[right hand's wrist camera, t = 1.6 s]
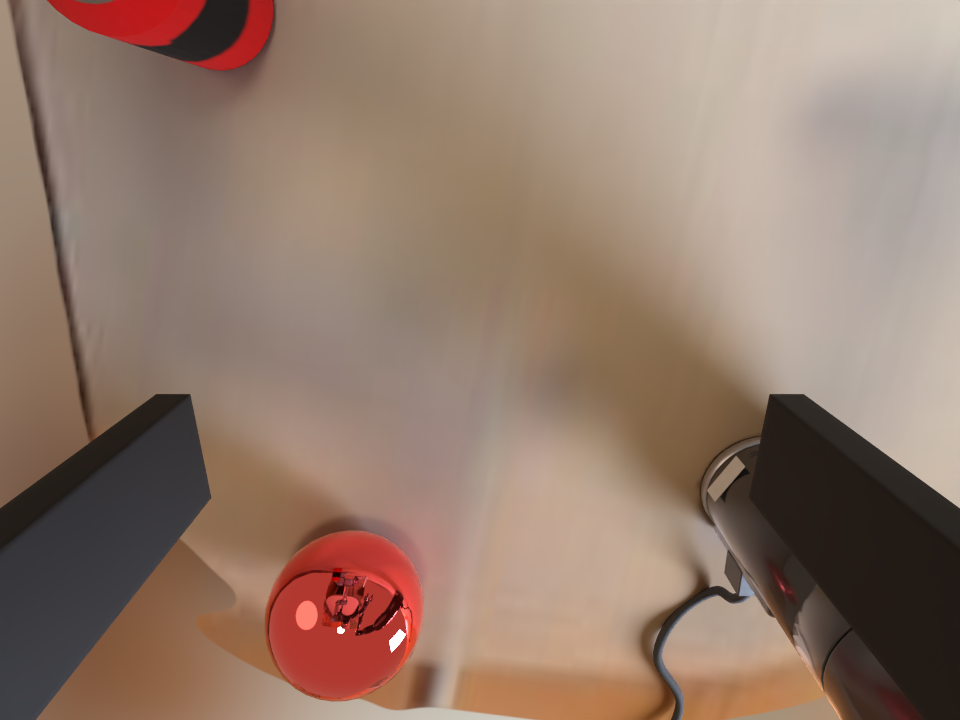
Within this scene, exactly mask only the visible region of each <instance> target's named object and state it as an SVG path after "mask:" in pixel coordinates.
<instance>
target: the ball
mask: <svg viewBox="0 0 960 720" xmlns="http://www.w3.org/2000/svg"><path fill="white" fill-rule="evenodd" d="M423 621H424V594H423V589H422V585H421V582H420V579H419V576H418V573H417V571H416V569H415V567H414V565H413V564H412V563H411V561H410V560H409V558H408V557H407V555H406V554H405V553H404V552H403V551H402V550H401V549H400V548H399V547H397V546H396V545H395V544H394V543H393V542H391V541H389V540H388V539H386V538H384V537H382V536H380V535H377V534H374V533H370V532H367V531H358V530H347V531H339V532H333V533H330V534H328V535H325V536H322V537H320V538H317V539H315V540H313V541H312V542H310V543H309V544H308V545H306V546H305V547H303V548H302V549H300V550H299V551H298V552H297V553H295V554H294V555H293V557H292V558H291V559H290V560H289V561H288V563H287V564H286V565H285V566H284V568H283V569H282V570H281V572H280V573H279V574H278V576H277V578H276V580H275V582H274V585H273V587H272V590H271V593H270V595H269V598H268V601H267V605H266V610H265V639H266V643H267V646H268V650H269V653H270V656H271V659H272V661H273V663H274V665H275V666H276V668H277V669H278V671H279V672H280V674H281V675H282V677H283V678H284V679H285V680H286V681H287V682H289V683H290V684H291V685H292V686H293V687H294V688H295V689H297V690H299V691H300V692H302V693H304V694H306V695H308V696H311V697H314V698H317V699H320V700H327V701H348V700H352V699H357V698H361V697H363V696H366V695H368V694H370V693H372V692H375V691H376V690H378V689H380V688H381V687H382V686H384V685H385V684H386V683H387V682H389V681H390V680H391V679H393V678H394V677H395V676H396V675H397V674H398V673H399V672H400V670H401V669H402V668H403V666H404V665H405V664H406V662H407V661H408V659H409V658H410V657H411V655H412V653H413V652H414V649H415V647H416V645H417V642H418V639H419V636H420V633H421V630H422V626H423Z"/></svg>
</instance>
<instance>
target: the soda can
mask: <svg viewBox="0 0 960 720" xmlns="http://www.w3.org/2000/svg"><path fill="white" fill-rule="evenodd" d="M47 1H48V2H49V3H50V4H51V5H52V6H53V7H54V8H55V9H56V10H57V11H59V12H60V13H61V14H63V15H64V16H65V17H67V18H68V19H69V20H71V21H72V22H74V23H76V24H77V25H79V26H81V27H83V28H85V29H87V30H89V31H92V32H95V33H98V34H101V35H105V36H108V37H111V38H114V39H117V40H120V41H123V42H126V43H129V44H132V45H135V46H138V47H141V48H145V49H148V50H151V51H154V52H157V53H160V54H163V55H166V56H169V57H172V58H175V59H178V60H181V61H185V62H188V63H191V64H194V65H197V66H200V67H203V68H207V69H210V70H229V69H235V68H237V67H240V66H242V65H245V64H246V63H247V62H249V61H250V60H252V59H253V58H254V57H255V56H256V55H257V54H258V53H259V52H260V51H261V49H262V48H263V46H264V44H265V42H266V41H267V39H268V36H269V33H270V30H271V27H272V19H273V0H47Z"/></svg>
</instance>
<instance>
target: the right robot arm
mask: <svg viewBox="0 0 960 720" xmlns="http://www.w3.org/2000/svg"><path fill="white" fill-rule="evenodd" d="M210 499H211V494H210V489H209V484H208V479H207V474H206V470H205V465H204V460H203V455H202V450H201V445H200V440H199V435H198V430H197V425H196V420H195V415H194V410H193V406H192V401H191V396H190V394H156V395H155V396H153V397H152V398H151V399H149V400H148V401H146V402H145V403H144V404H142V405H141V406H140V407H138V408H137V409H136V410H134V411H133V412H131V413H130V414H129V415H127V416H126V417H125V418H123V419H122V420H121V421H119V422H118V423H116V424H115V425H114V426H112V427H111V428H110V429H108V430H107V431H105V432H104V433H103V434H101V435H100V436H99V437H97V438H96V439H95V440H93V441H92V442H90V443H89V444H88V445H86V446H85V447H84V448H82V449H81V450H80V451H78V452H77V453H75V454H74V455H73V456H71V457H70V458H69V459H67V460H66V461H64V462H63V463H62V464H60V465H59V466H58V467H56V468H55V469H54V470H52V471H51V472H49V473H48V474H47V475H45V476H44V477H43V478H41V479H40V480H39V481H37V482H36V483H34V484H33V485H32V486H30V487H29V488H28V489H26V490H25V491H23V492H22V493H21V494H19V495H18V496H17V497H15V498H14V499H13V500H11V501H10V502H8V503H7V504H6V505H4V506H3V507H2V508H0V720H36V719H37V717H38V716H39V715H40V714H41V712H42V711H43V710H44V709H45V707H46V706H47V705H48V703H49V702H50V701H51V700H52V698H53V697H54V696H55V695H56V693H57V692H58V691H59V690H60V688H61V687H62V686H63V684H64V683H65V682H66V681H67V679H68V678H69V677H70V676H71V674H72V673H73V672H74V671H75V669H76V668H77V667H78V666H79V664H80V663H81V662H82V660H83V659H84V658H85V657H86V655H87V654H88V653H89V652H90V650H91V649H92V648H93V647H94V645H95V644H96V643H97V641H98V640H99V639H100V638H101V636H102V635H103V634H104V633H105V631H106V630H107V629H108V628H109V626H110V625H111V624H112V622H113V621H114V620H115V619H116V617H117V616H118V615H119V614H120V612H121V611H122V610H123V609H124V607H125V606H126V605H127V604H128V602H129V601H130V600H131V598H132V597H133V596H134V595H135V593H136V592H137V591H138V590H139V588H140V587H141V586H142V585H143V583H144V582H145V581H146V579H147V578H148V577H149V576H150V574H151V573H152V572H153V571H154V569H155V568H156V567H157V565H158V564H159V563H160V562H161V560H162V559H163V558H164V557H165V555H166V554H167V553H168V552H169V550H170V549H171V548H172V546H173V545H174V544H175V543H176V542H177V540H178V539H179V538H180V536H181V535H182V534H183V533H184V531H185V530H186V529H187V528H188V526H189V525H190V524H191V523H192V521H193V520H194V519H195V517H196V516H197V515H198V514H199V512H200V511H201V510H202V509H203V507H204V506H205V505H206V504H207V502H208V501H209V500H210ZM749 499H750V500H751V501H752V502H753V504H754V505H755V506H756V507H757V509H758V510H759V511H760V512H761V514H762V515H763V516H764V517H765V519H766V520H767V521H768V523H769V524H770V525H771V526H772V528H773V529H774V530H775V531H776V533H777V534H778V535H779V536H780V538H781V539H782V540H783V542H784V543H785V544H786V545H787V547H788V548H789V549H790V550H791V552H792V553H793V554H794V555H795V557H796V558H797V559H798V560H799V562H800V563H801V564H802V566H803V567H804V568H805V569H806V571H807V572H808V573H809V574H810V576H811V577H812V578H813V579H814V581H815V582H816V583H817V585H818V586H819V587H820V588H821V590H822V591H823V592H824V593H825V595H826V596H827V597H828V598H829V600H830V601H831V602H832V604H833V605H834V606H835V607H836V609H837V610H838V611H839V612H840V614H841V615H842V616H843V617H844V619H845V620H846V621H847V622H848V624H849V625H850V626H851V628H852V629H853V630H854V631H855V633H856V634H857V635H858V636H859V638H860V639H861V640H862V641H863V643H864V644H865V645H866V647H867V648H868V649H869V650H870V652H871V653H872V654H873V655H874V657H875V658H876V659H877V660H878V662H879V663H880V664H881V666H882V667H883V668H884V669H885V671H886V672H887V673H888V674H889V676H890V677H891V678H892V679H893V681H894V682H895V683H896V684H897V686H898V687H899V688H900V690H901V691H902V692H903V693H904V695H905V696H906V697H907V698H908V700H909V701H910V702H911V703H912V705H913V706H914V707H915V709H916V710H917V711H918V712H919V714H920V715H921V716H922V717H923V719H924V720H960V508H958V507H957V506H956V505H954V504H953V503H952V502H950V501H949V500H947V499H946V498H945V497H943V496H942V495H941V494H939V493H938V492H937V491H935V490H934V489H932V488H931V487H930V486H928V485H927V484H926V483H924V482H923V481H921V480H920V479H919V478H917V477H916V476H915V475H913V474H912V473H911V472H909V471H908V470H906V469H905V468H904V467H902V466H901V465H900V464H898V463H897V462H896V461H894V460H893V459H891V458H890V457H889V456H887V455H886V454H885V453H883V452H882V451H880V450H879V449H878V448H876V447H875V446H874V445H872V444H871V443H870V442H868V441H867V440H865V439H864V438H863V437H861V436H860V435H859V434H857V433H856V432H855V431H853V430H852V429H850V428H849V427H848V426H846V425H845V424H844V423H842V422H841V421H839V420H838V419H837V418H835V417H834V416H833V415H831V414H830V413H829V412H827V411H826V410H824V409H823V408H822V407H820V406H819V405H818V404H816V403H815V402H814V401H812V400H811V399H809V398H808V397H807V396H805V395H804V394H770V396H769V401H768V406H767V410H766V415H765V420H764V425H763V430H762V435H761V440H760V445H759V450H758V455H757V460H756V465H755V470H754V474H753V479H752V484H751V489H750V494H749Z"/></svg>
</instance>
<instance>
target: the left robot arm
mask: <svg viewBox="0 0 960 720" xmlns="http://www.w3.org/2000/svg"><path fill="white" fill-rule="evenodd" d="M760 440H761V437H754V438H750V439H747V440H744V441H741V442H739V443H737V444H735V445H733V446H731V447H730V448H728V449H726V450H725V451H724V452H722V453H721V454H720V455H719V456H718V457H717V458H716V459H715V460H714V461H713V463H712V464H711V465H710V467H709V468H708V470H707V472H706V474H705V476H704V478H703V482H702V486H701V499H702V504H703V507H704V509H705V511H706V512H707V514H708V516H709V517H710V519H711V520H712V522H713V523H714V524H715V532H716V533H717V535H718V537H719V538H720V540H721V541H722V543H723V545H724V546H725V548H726V549H727V558H726V565H725V575H726V576H727V578H728V580H729V581H730V583H731V585H732V586H733V588H734V590H735V592H736V593H735V594H732V593H730V592H729V591H727V590H726V589H725V588H723V587H720V586H714V587H710V588H708V589H705V590H703V591H701V592H700V593H698V594H697V595H695V596H694V597H693V598H691V599H690V600H689V601H687V602H686V603H685V604H683V605H682V606H681V607H679V608H678V609H677V610H676V611H675V612H674V613H673V614H672V615H671V616H670V617H669V618H668V619H667V621H666V622H665V624H664V625H663V627H662V629H661V630H660V632H659V634H658V637H657V639H656V642H655V645H654V650H653V657H654V663H655V666H656V668H657V670H658V672H659V673H660V675H661V676H662V677H663V679H664V680H665V681H666V683H667V684H668V685H669V687H670V688H671V690H672V692H673V694H674V696H675V700H676V704H675V710H674V713H673V716H672V719H671V720H681V718H682V714H683V710H684V699H683V695H682V692H681V690H680V688H679V686H678V685H677V683H676V682H675V680H674V679H673V678H672V676H671V675H670V674H669V672H668V671H667V669H666V668H665V665H664V663H663V660H662V651H663V647H664V644H665V642H666V640H667V638H668V636H669V634H670V632H671V631H672V629H673V628H674V626H675V625H676V624H677V622H678V621H679V620H680V619H681V618H682V617H683V616H684V615H685V614H686V613H687V612H688V611H689V610H690V609H692V608H693V607H694V606H696V605H697V604H699V603H701V602H702V601H704V600H706V599H709V598H711V597H714V596H717V595H718V596H721V597H722V598H724V599H725V600H726V601H728V602H730V603H741V602H744V601H746V600H747V599H748V598H749V597H750V596H756V597H757V599H758V600H759V602H760V603H761V605H762V607H763V608H764V610H765V611H766V613H767V614H768V615H770V616H771V617H773V618H776V619H777V621H778V622H779V624H780V626H781V627H782V629H783V630H784V632H785V633H786V635H787V636H788V638H789V640H790V641H791V643H792V644H793V646H794V647H795V649H796V650H797V652H798V654H799V655H800V656H801V658H802V659H803V661H804V662H805V664H806V666H807V667H808V669H809V670H810V672H811V673H812V675H813V676H814V678H815V680H816V681H817V683H818V684H819V686H820V687H821V689H822V690H823V692H824V694H825V695H826V697H827V698H828V700H829V702H830V703H831V705H832V707H833V708H834V710H835V711H836V713H837V715H838V716H839V718H840V720H924V719H923V717H922V716H921V715H920V714H919V712H918V711H917V710H916V709H915V707H914V706H913V705H912V703H911V702H910V701H909V700H908V698H907V697H906V696H905V695H904V693H903V692H902V691H901V690H900V688H899V687H898V686H897V684H896V683H895V682H894V681H893V679H892V678H891V677H890V676H889V674H888V673H887V672H886V671H885V669H884V668H883V667H882V666H881V664H880V663H879V662H878V660H877V659H876V658H875V657H874V655H873V654H872V653H871V652H870V650H869V649H868V648H867V647H866V645H865V644H864V643H863V641H862V640H861V639H860V638H859V636H858V635H857V634H856V633H855V631H854V630H853V629H852V628H851V626H850V625H849V624H848V622H847V621H846V620H845V619H844V617H843V616H842V615H841V614H840V612H839V611H838V610H837V609H836V607H835V606H834V605H833V604H832V602H831V601H830V600H829V598H828V597H827V596H826V595H825V593H824V592H823V591H822V590H821V588H820V587H819V586H818V585H817V583H816V582H815V581H814V579H813V578H812V577H811V576H810V574H809V573H808V572H807V571H806V569H805V568H804V567H803V566H802V564H801V563H800V562H799V560H798V559H797V558H796V557H795V555H794V554H793V553H792V552H791V550H790V549H789V548H788V547H787V545H786V544H785V543H784V542H783V540H782V539H781V538H780V536H779V535H778V534H777V533H776V531H775V530H774V529H773V528H772V526H771V525H770V524H769V523H768V521H767V520H766V519H765V517H764V516H763V515H762V514H761V512H760V511H759V510H758V509H757V507H756V506H755V505H754V504H753V502H752V501H751V500H750V499H749V494H750V489H751V484H752V479H753V474H754V470H755V465H756V460H757V455H758V450H759V445H760Z"/></svg>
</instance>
